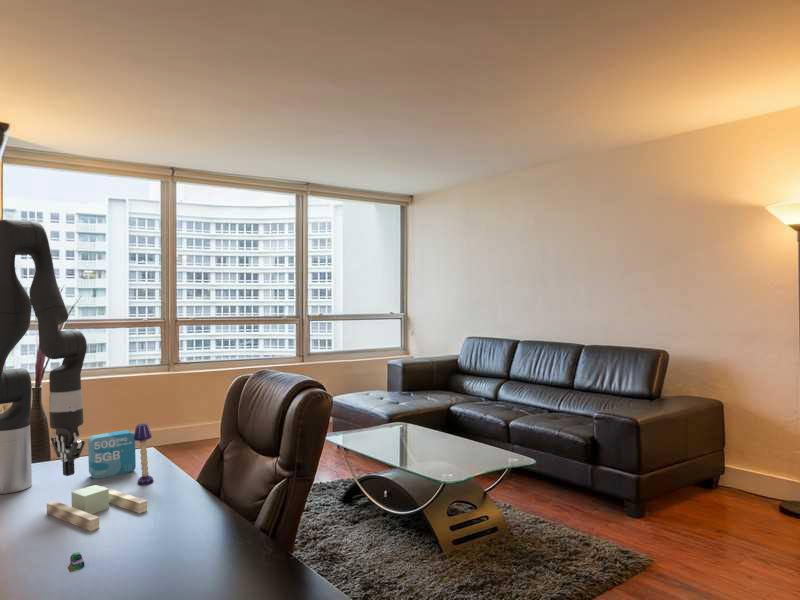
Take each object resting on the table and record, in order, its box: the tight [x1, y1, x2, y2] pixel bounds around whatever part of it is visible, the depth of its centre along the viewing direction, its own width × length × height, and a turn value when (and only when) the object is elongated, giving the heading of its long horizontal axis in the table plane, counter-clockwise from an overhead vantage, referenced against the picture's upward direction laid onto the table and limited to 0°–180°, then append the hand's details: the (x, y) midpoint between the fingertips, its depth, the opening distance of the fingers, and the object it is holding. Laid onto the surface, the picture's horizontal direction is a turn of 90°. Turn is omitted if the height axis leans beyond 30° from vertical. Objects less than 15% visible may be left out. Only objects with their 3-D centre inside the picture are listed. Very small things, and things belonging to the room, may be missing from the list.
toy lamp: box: [133, 423, 154, 486], centre depth 163 cm, size 5×5×17 cm
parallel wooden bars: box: [46, 486, 148, 532], centre depth 142 cm, size 20×14×2 cm
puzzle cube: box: [67, 551, 85, 573], centre depth 113 cm, size 4×3×2 cm, turn 38°
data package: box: [87, 429, 137, 480], centre depth 172 cm, size 12×4×12 cm, turn 128°
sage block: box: [71, 484, 110, 515], centre depth 143 cm, size 6×6×5 cm
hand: (68, 474), depth 148 cm, fingers closed
